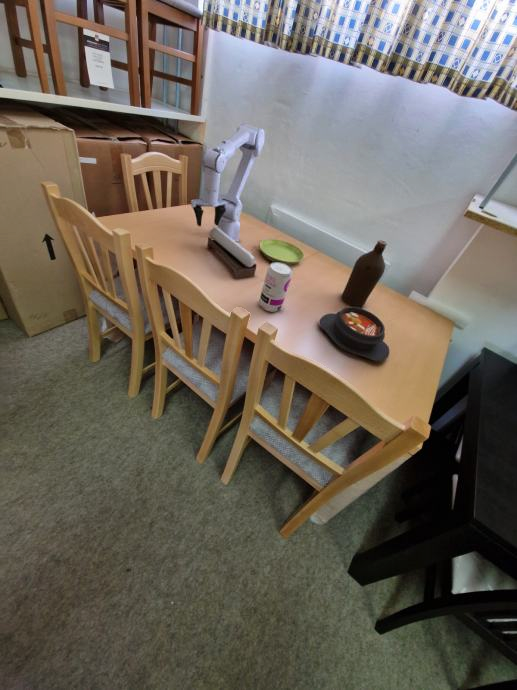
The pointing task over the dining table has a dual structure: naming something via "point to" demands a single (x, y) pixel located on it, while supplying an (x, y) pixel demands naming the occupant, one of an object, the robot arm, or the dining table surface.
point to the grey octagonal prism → (232, 247)
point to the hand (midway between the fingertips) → (207, 224)
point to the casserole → (357, 332)
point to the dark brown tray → (232, 261)
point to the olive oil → (364, 276)
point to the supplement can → (275, 286)
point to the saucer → (281, 251)
